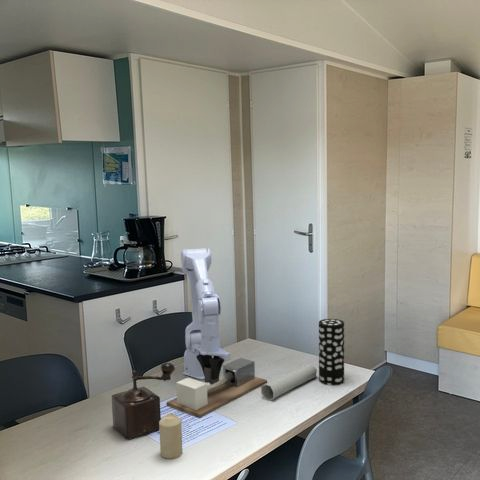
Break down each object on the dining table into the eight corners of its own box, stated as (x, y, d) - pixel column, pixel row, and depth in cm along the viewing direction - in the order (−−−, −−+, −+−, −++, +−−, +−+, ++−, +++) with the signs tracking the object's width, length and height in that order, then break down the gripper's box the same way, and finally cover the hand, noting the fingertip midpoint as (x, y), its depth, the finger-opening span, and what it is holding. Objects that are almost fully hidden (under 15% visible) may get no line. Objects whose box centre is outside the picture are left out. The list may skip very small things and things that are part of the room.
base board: (166, 405, 167) (166, 402, 167) (235, 373, 192) (234, 370, 192) (199, 417, 159) (199, 414, 158) (267, 382, 183) (267, 380, 183)
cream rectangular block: (177, 403, 167) (176, 382, 166) (188, 397, 170) (188, 377, 169) (195, 410, 161) (195, 388, 161) (207, 404, 165) (206, 383, 164)
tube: (305, 362, 190) (258, 384, 172) (317, 361, 186) (271, 383, 168) (309, 378, 189) (263, 401, 171) (321, 376, 186) (276, 400, 168)
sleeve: (223, 383, 181) (222, 365, 180) (241, 374, 188) (240, 357, 187) (237, 387, 177) (236, 369, 176) (254, 378, 184) (254, 361, 183)
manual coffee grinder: (128, 441, 146) (125, 376, 143) (112, 426, 155) (108, 365, 152) (179, 424, 155) (177, 363, 152) (161, 411, 164) (158, 352, 161)
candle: (161, 448, 142) (159, 411, 141) (182, 447, 142) (181, 410, 141) (160, 459, 136) (158, 421, 135) (182, 458, 137) (180, 420, 136)
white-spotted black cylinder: (345, 377, 186) (346, 319, 183) (342, 386, 178) (342, 326, 176) (321, 374, 189) (321, 318, 186) (316, 383, 181) (316, 324, 178)
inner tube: (192, 395, 168) (191, 372, 167) (233, 376, 183) (232, 354, 182) (200, 398, 166) (199, 374, 165) (240, 378, 180) (240, 356, 179)
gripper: (184, 334, 172) (186, 376, 173) (219, 343, 162) (220, 387, 164) (200, 329, 177) (201, 369, 179) (234, 337, 168) (235, 379, 170)
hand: (211, 377), depth 172 cm, fingers closed on inner tube, 3 cm apart
